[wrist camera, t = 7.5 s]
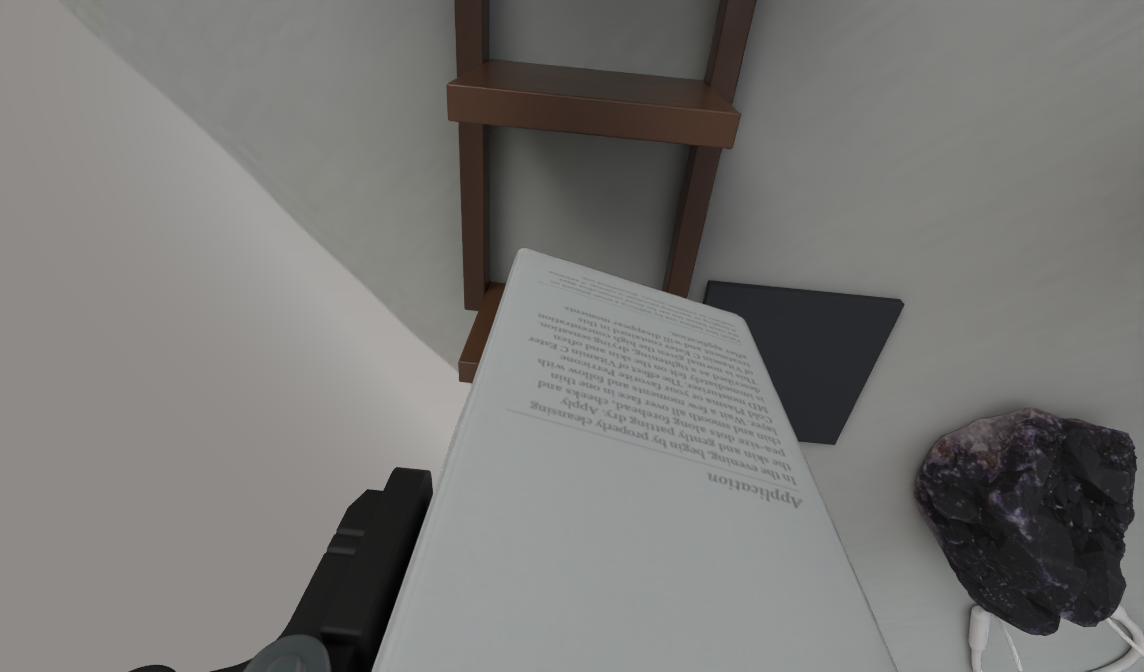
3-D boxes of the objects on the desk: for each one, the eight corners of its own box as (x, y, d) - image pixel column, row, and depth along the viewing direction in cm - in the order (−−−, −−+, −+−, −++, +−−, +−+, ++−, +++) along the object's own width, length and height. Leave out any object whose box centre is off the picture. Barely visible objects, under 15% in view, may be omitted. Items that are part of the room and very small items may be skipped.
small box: (638, 503, 18) (681, 1278, 7) (458, 455, 17) (199, 1237, 6) (753, 311, 14) (1305, 1525, 3) (519, 236, 13) (41, 1484, 2)
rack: (813, -288, 18) (937, -454, 11) (676, 317, 31) (696, 405, 25) (454, -325, 18) (365, -514, 11) (469, 297, 31) (433, 379, 25)
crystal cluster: (1041, 355, 32) (1163, 481, 24) (1168, 465, 35) (1316, 612, 27) (855, 463, 39) (900, 588, 31) (972, 548, 42) (1042, 683, 34)
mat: (900, 298, 30) (905, 304, 29) (831, 439, 36) (835, 445, 35) (708, 279, 30) (710, 284, 29) (672, 423, 36) (672, 429, 35)
